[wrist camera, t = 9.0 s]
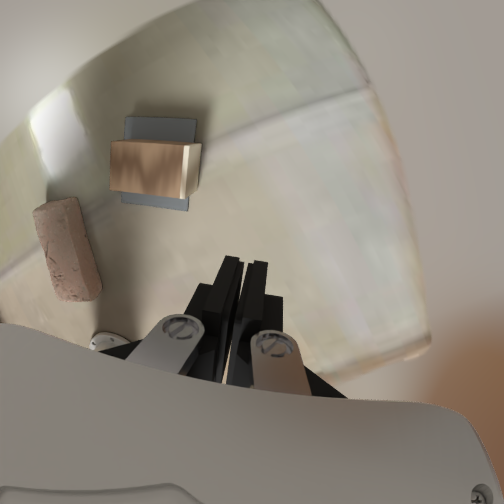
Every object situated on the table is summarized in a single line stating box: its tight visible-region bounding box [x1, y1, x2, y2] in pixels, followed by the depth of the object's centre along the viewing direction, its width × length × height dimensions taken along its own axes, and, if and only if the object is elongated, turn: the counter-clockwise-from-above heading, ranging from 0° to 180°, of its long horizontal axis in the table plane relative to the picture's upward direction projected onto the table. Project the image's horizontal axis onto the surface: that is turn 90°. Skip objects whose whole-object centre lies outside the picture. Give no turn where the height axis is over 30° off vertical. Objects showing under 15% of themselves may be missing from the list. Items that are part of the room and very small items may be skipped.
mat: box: [121, 117, 197, 211], centre depth 36 cm, size 12×10×1 cm
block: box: [110, 139, 202, 199], centre depth 34 cm, size 6×5×10 cm
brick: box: [33, 197, 102, 302], centre depth 41 cm, size 17×8×5 cm, turn 6°
